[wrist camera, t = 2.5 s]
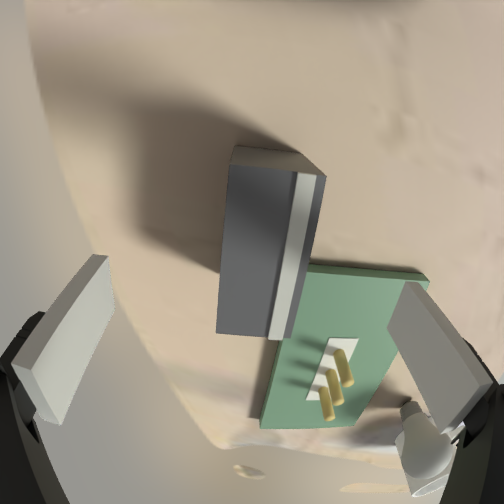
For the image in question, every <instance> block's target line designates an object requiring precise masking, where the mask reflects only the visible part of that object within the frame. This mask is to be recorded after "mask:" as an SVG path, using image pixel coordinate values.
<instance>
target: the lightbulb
mask: <svg viewBox="0 0 504 504" xmlns="http://www.w3.org/2000/svg"><path fill="white" fill-rule="evenodd" d="M400 414H401V418H402V421H403V425H402V427H403V430H404V436H405V438H404V446H403V450H402V456H401V463H402V467H403V469H404V470H405V472H406V473H407V474H408V475H410V476H411V477H413V478H416V479H429V478H432V477H434V476H436V475H438V474H440V473H441V472H442V471H443V470H444V469H445V468H446V467H447V466H448V464H449V463H450V461H451V458H452V455H453V445H452V444H451V442H452V441H451V439H450V437H449V436H448V435H447V434H446V433H443V434H440V433H439V431H438V428H437V427H435V426H434V425H433V424H432V423H431V422H430V421H429V419H428V417H427V416H426V414H425V413H423V412H422V409H421V408H420V406H419V404H418V402H416V401H412V402H411V401H408V402H406V403H405V404H404V406H402V408H401V409H400Z"/></svg>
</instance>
